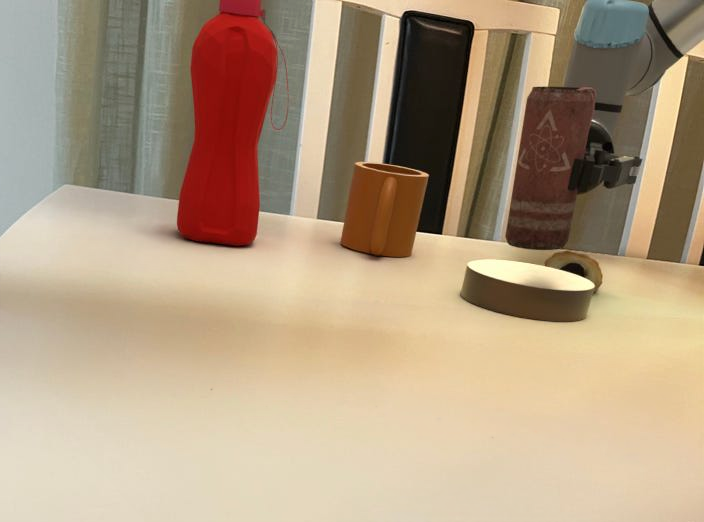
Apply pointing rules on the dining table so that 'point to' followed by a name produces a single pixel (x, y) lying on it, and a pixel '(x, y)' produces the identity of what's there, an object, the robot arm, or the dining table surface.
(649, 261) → the dining table surface
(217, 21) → the water bottle
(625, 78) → the robot arm
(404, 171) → the mug
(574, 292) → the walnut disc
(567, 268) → the pastry
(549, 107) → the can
